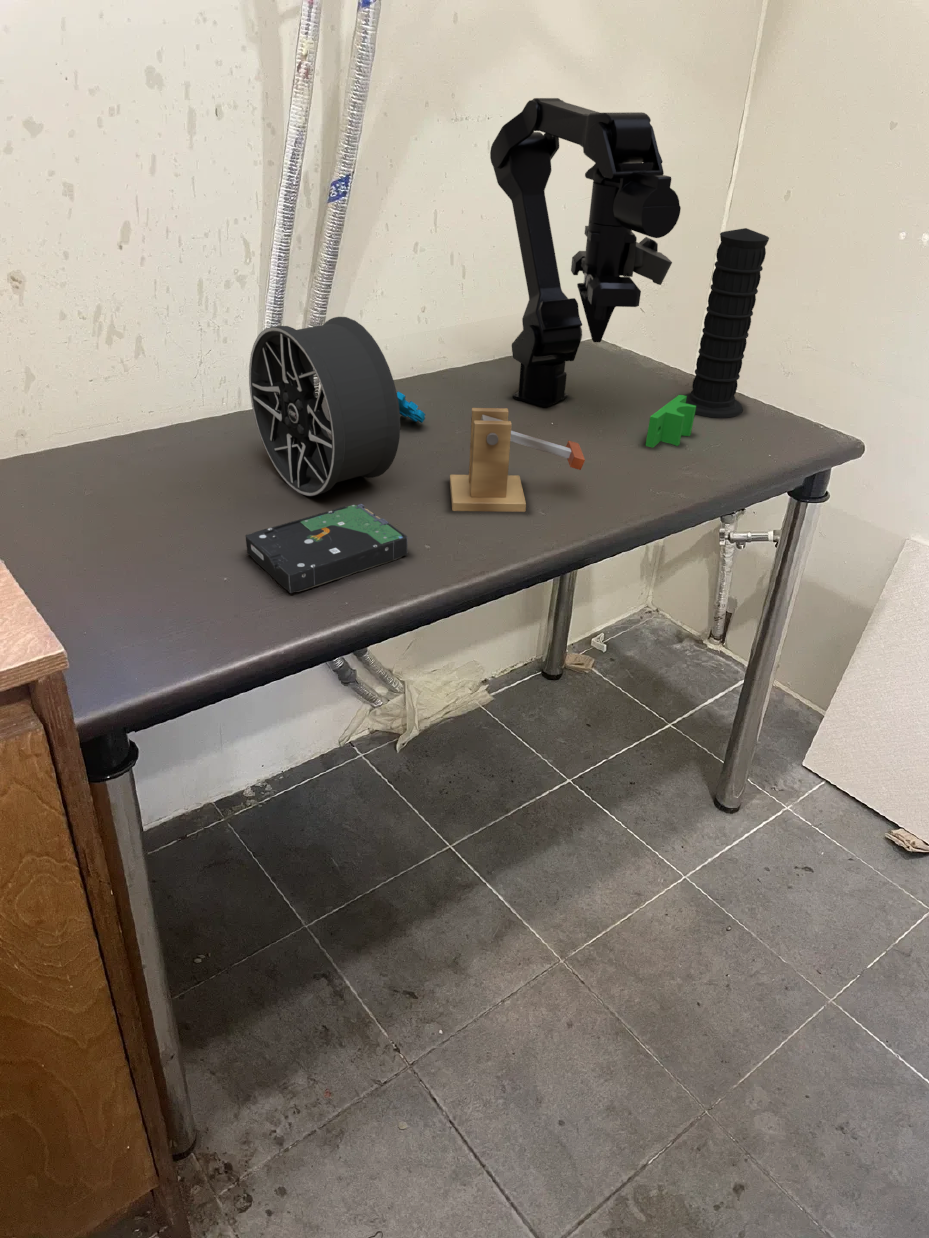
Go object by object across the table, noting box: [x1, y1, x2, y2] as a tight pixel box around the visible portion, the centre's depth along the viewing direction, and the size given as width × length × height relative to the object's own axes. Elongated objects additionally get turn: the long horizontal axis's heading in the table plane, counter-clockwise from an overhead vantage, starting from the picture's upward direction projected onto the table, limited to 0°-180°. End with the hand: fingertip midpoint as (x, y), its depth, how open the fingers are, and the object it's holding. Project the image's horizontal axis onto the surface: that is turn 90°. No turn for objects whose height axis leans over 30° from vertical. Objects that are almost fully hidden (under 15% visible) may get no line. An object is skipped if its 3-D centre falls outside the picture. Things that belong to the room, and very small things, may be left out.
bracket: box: [449, 407, 527, 513], centre depth 112 cm, size 9×8×11 cm
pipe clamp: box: [645, 394, 696, 449], centre depth 132 cm, size 11×4×5 cm, turn 147°
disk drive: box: [245, 503, 409, 594], centre depth 101 cm, size 10×3×15 cm
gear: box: [396, 390, 426, 424], centre depth 131 cm, size 11×6×10 cm
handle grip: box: [683, 227, 770, 419], centre depth 137 cm, size 10×26×10 cm
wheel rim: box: [248, 316, 401, 497], centre depth 111 cm, size 20×9×20 cm, turn 39°
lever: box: [480, 415, 586, 471], centre depth 111 cm, size 13×5×2 cm, turn 93°
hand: (596, 341), depth 128 cm, fingers closed
